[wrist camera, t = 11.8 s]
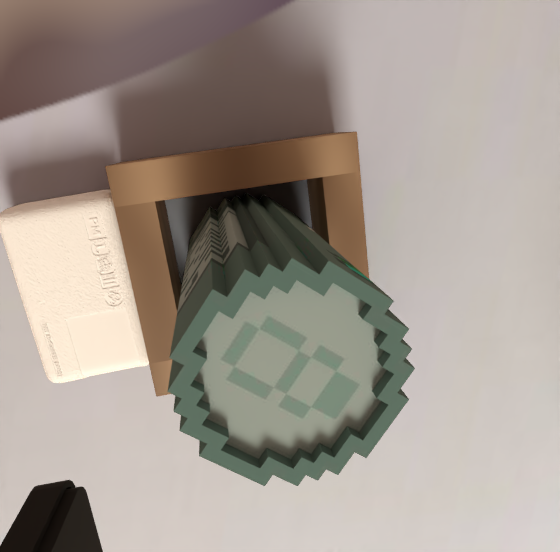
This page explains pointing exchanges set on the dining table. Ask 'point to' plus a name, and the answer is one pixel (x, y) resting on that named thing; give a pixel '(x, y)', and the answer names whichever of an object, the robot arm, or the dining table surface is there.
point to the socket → (217, 178)
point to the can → (281, 347)
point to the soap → (75, 284)
